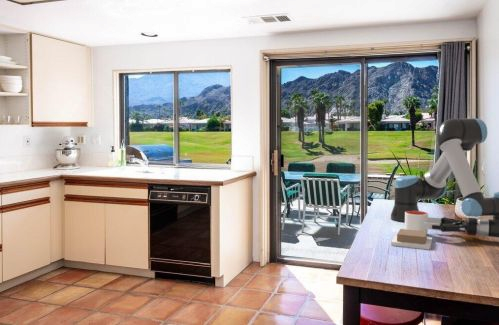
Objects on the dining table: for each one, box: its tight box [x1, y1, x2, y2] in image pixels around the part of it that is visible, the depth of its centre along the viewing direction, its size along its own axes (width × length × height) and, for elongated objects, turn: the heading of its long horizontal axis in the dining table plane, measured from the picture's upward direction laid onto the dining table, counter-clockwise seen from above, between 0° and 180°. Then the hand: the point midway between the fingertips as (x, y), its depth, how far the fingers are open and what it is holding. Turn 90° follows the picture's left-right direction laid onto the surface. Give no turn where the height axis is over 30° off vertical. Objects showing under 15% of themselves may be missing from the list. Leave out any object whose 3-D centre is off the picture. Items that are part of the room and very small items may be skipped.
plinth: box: [390, 228, 433, 251], centre depth 188 cm, size 15×15×4 cm
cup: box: [404, 210, 429, 234], centre depth 204 cm, size 10×10×10 cm
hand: (424, 222), depth 202 cm, fingers open, 13 cm apart
